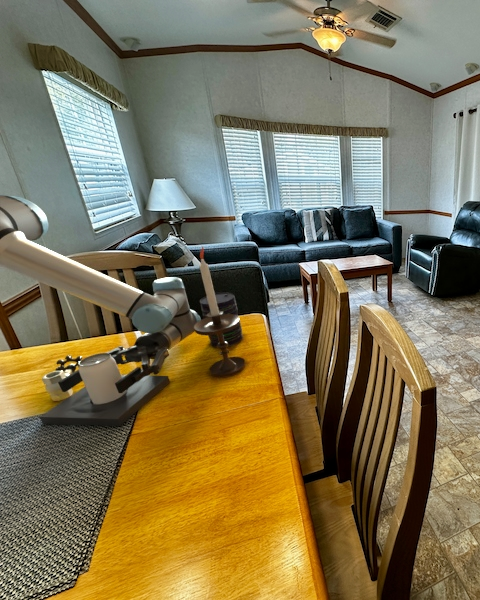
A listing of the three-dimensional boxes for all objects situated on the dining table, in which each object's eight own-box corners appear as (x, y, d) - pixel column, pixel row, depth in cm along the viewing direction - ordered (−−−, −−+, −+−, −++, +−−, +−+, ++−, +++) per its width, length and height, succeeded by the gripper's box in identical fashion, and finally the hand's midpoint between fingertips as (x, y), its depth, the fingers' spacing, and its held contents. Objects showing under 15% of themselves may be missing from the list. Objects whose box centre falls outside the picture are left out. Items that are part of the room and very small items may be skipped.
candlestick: (250, 355, 99) (227, 240, 86) (246, 375, 90) (219, 249, 77) (210, 361, 96) (180, 243, 83) (202, 382, 87) (166, 253, 73)
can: (114, 410, 77) (96, 367, 72) (87, 410, 77) (67, 367, 72) (135, 392, 83) (119, 351, 78) (110, 392, 83) (93, 351, 78)
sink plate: (42, 424, 73) (38, 416, 72) (105, 380, 88) (102, 374, 87) (120, 426, 72) (117, 419, 71) (170, 382, 87) (168, 375, 86)
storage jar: (220, 350, 102) (210, 306, 96) (204, 342, 107) (192, 300, 101) (249, 337, 109) (241, 296, 104) (232, 330, 114) (223, 290, 109)
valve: (77, 397, 81) (93, 372, 91) (67, 375, 79) (84, 352, 89) (41, 405, 78) (61, 379, 88) (29, 383, 76) (51, 358, 86)
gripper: (202, 353, 95) (147, 402, 75) (120, 352, 96) (44, 399, 76) (196, 330, 92) (137, 375, 72) (112, 329, 93) (30, 372, 73)
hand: (89, 387), depth 74 cm, fingers open, 13 cm apart
